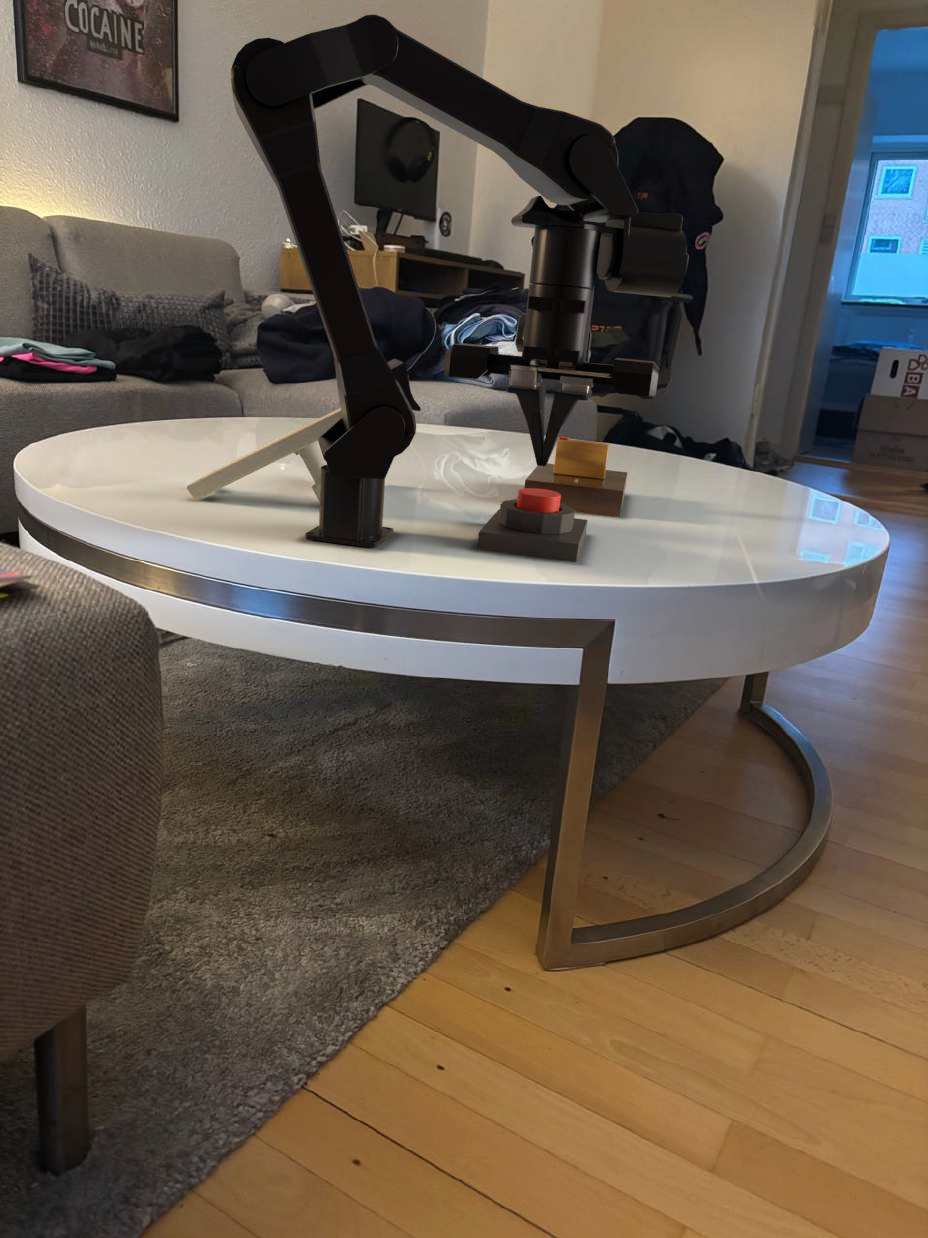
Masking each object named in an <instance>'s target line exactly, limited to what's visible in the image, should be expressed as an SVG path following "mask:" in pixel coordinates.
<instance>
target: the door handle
mask: <svg viewBox="0 0 928 1238" xmlns="http://www.w3.org/2000/svg"><path fill="white" fill-rule="evenodd" d="M341 417H342V413H341V407H339V408H337V409H336V410H333V411H332V412H330V413H327V414H324V415H323V416H321V417H319V418H317V419H315V420H314V421H311V422H309V423H306V424H305V425H304V426H301V427H299V428H297V429H295V430H293V431H291V432H288V433H287V434H285V435H283V436H281V437H279V438H277V439H275V440H273V441H271V442H269V443H267V444H265V445H263V446H260V447H258V448H257V449H255V450H252V451H251V452H248V453H247V454H245V455H242V456H240V457H239V458H236V459H234V460H232V461H230V462H229V463H226V464H224V465H222V466H220V467H218V468H216V469H214V470H211V471H210V472H208V473H206V474H205V475H203V476H201V477H199V478H198V479H196V480H194V481H193V482H191V483H189V484H187V485H186V490H187V491H188V493H189V494H190V495H191V497H192V498H193V499H194V500H199V499H202V498H204V497H205V496H208V495H210V494H212V493H214V492H216V491H218V490H220V489H223V488H224V487H226V486H228V485H230V484H232V483H234V482H237V481H239V480H241V479H243V478H245V477H247V476H249V475H251V474H253V473H255V472H258V471H259V470H261V469H263V468H265V467H267V466H270V465H271V464H274V463H276V462H277V461H280V460H281V459H284V458H286V457H288V456H289V455H292V454H295V456H298V455H299V456H300V458H301V459H302V460H303V462H304V465H305V467H306V468H307V470H308V472H309V474H310V475H311V478H312V479H313V481H314V484H313V485H312V486H311V489H312V491H313V493H314V495H315V496H316V499H317V500H318V502H319V503H320V479H321V467H322V466H324V465H327V463H326V461H325V460H324V458H323V455H322V452H321V449H320V446H319V443H318V439H319V437H320V436H321V435H322V434H323V433H325V432H326V431H327V430H328V429H329V428H330V427H331V426H332V425H334V424H335V423H336V422H337V421H338V420H339V419H340V418H341Z"/></svg>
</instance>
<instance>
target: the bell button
mask: <svg viewBox="0 0 928 1238" xmlns="http://www.w3.org/2000/svg"><path fill="white" fill-rule="evenodd" d="M560 498H561V494H560V493H558V492H555V491H551V490H545V489H536V488H525V489H524V488H521V489H518V491H517V498H516V499H517V508H520V509H524V510H528V511H537V512H558V511H559V506H560Z"/></svg>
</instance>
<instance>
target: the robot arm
mask: <svg viewBox="0 0 928 1238" xmlns="http://www.w3.org/2000/svg"><path fill="white" fill-rule="evenodd" d="M230 83H231V84H230V85H231V93H232V100H233V105H234V109H235V112H236V115H237V116H238V118H239V121H240V122H241V124H242V125H243V128H244V129H245V132H246V134H247V135H248V137H249V139H250V141H251V143H252V145H253V147H254V149H255V150H256V152H257V155H258V156H259V158H260V159H261V161H262V163H263V165H264V166H265V168H266V170H267V172H268V173H269V175H270V177H271V179H272V181H273V183H274V184H275V186H276V188H277V191H278V194H279V197H280V200H281V202H282V205H283V209H284V212H285V215H286V217H287V221H288V223H289V226H290V229H291V233H292V235H293V238H294V241H295V244H296V248H297V250H298V253H299V256H300V259H301V263H302V264H303V265H302V266H303V268H304V271H305V274H306V277H307V279H308V283H309V285H310V289H311V292H312V295H313V298H314V301H315V303H316V306H317V309H318V312H319V316H320V318H321V322H322V324H323V326H324V330H325V334H326V336H327V339H328V342H329V345H330V348H331V352H332V356H333V361H334V362H333V363H334V371H335V378H336V387H337V388H336V389H337V394H338V400H339V408H341V413H342V417H341V418H340V419H339V420H338V421H337V422H336V423H335V424H334V425H332V426H331V427H330V428H329V429H328V430H327V431H326V432H325V433H323V434H322V435H321V436H320V437H319V439H318V443H319V446H320V449H321V452H322V455H323V458H324V460H325V461H326V463H327V465H324V466H322V467H321V479H320V502H319V511H318V512H319V514H318V525H317V526H315V527H314V528H312V529H310V530H309V531H307V532H305V535H304V538H305V539H306V540H311V541H318V542H325V543H331V544H332V543H333V544H341V545H348V546H349V545H350V546H354V547H355V546H356V547H363V548H376V547H378V546H379V545H381V544H382V543H383V542H385V541H386V540H387V539H389V538H390V537H391V536H393V534H394V528H393V527H388V526H383V523H384V521H383V520H384V505H385V504H384V503H385V486H386V477H387V475H388V473H389V471H390V469H391V466H392V463H393V461H394V459H395V457H397V456H399V455H401V454H403V453H404V452H405V451H406V450H407V449H408V448H409V447H410V445H411V443H412V441H413V439H414V437H415V435H416V433H417V421H416V415H415V413H414V411H415V412H420V411H421V410H422V408H421V406H420V404H418V402H417V401H416V400H415V398H414V396H413V393H412V390H411V385H410V376H409V371H408V366H407V363H405V362H403V361H401V360H399V359H397V358H393V359H391V360H389V361H387V359H386V358H385V356H384V355H383V352H382V350H381V349H380V347H379V346H378V343H377V340H376V337H375V335H374V331H373V329H372V325H371V322H370V319H369V316H368V312H367V309H366V307H365V303H364V300H363V296H362V293H361V290H360V287H359V284H358V281H357V276H356V275H355V272H354V268H353V265H352V262H351V259H350V255H349V252H348V249H347V246H346V242H345V239H344V236H343V233H342V230H341V227H340V224H339V222H338V221H339V220H338V218H337V215H336V212H335V208H334V205H333V202H332V199H331V196H330V193H329V189H328V187H327V184H326V180H325V177H324V174H323V170H322V163H321V155H320V146H319V138H318V129H317V127H318V126H317V120H316V113H315V110H317V109H319V108H321V107H324V106H326V105H328V104H330V103H332V102H335V101H336V100H338V99H340V98H343V97H345V96H346V95H348V94H351V93H353V92H354V91H356V90H360V89H362V88H364V87H366V86H373V87H375V88H377V89H380V90H381V91H383V92H384V93H386V94H388V95H390V96H391V97H394V98H396V99H397V100H399V101H401V102H403V103H404V104H406V105H407V106H410V107H412V108H413V109H415V110H417V111H418V112H421V113H423V114H424V115H427V116H428V117H430V118H432V119H433V120H435V121H437V122H438V123H441V124H443V125H444V126H446V127H448V128H450V129H452V130H453V131H455V132H458V133H459V134H461V135H463V136H464V137H467V138H468V139H470V140H472V141H473V142H475V143H477V144H479V145H481V146H483V147H484V148H486V149H488V150H490V151H492V152H493V153H494V154H496V155H497V156H498V157H499V158H501V159H502V160H503V161H504V162H505V163H506V164H507V165H508V166H509V167H510V168H511V169H512V170H513V172H515V174H516V175H517V176H518V177H519V179H521V180H522V181H523V182H525V183H526V184H527V185H528V186H530V187H531V189H533V190H534V191H536V192H537V193H538V194H539V195H536V196H534V197H531V198H530V200H529V201H528V203H527V205H526V206H525V207H523V209H522V210H521V211H520V212H518V213H517V214H516V215H514V216H512V218H511V220H510V221H511V225H512V226H513V227H520V228H527V229H534V233H533V244H532V253H531V262H530V272H529V284H528V293H527V302H526V311H525V314H524V313H521V314H520V315H519V318H518V322H517V326H516V333H515V342H514V343H515V344H514V345H515V347H516V351H517V352H518V353H521V355H513V354H503V353H500V352H499V351H500V350H499V346H496V345H484V344H475V343H474V344H472V343H465V342H464V343H463V342H462V343H453V344H452V345H451V346H450V347H449V348H447V350H446V353H445V357H444V368H443V369H444V371H443V376H445V377H446V376H447V377H449V378H451V377H452V378H461V379H469V380H470V379H471V380H472V379H473V380H479V379H480V378H481V377H482V376H483V377H489V376H490V375H492V374H493V375H494V374H495V375H501V376H502V375H504V376H508V380H509V382H508V385H507V386H506V389H505V392H506V393H508V394H515V395H516V397H517V399H518V402H519V405H520V408H521V411H522V413H523V416H524V418H525V421H526V425H527V428H528V433H529V437H530V441H531V447H532V450H533V454H534V458H535V462H536V463H535V464H536V467H537V466H546V465H547V463H548V464H549V461H550V458H551V456H552V453H553V451H554V449H555V448H556V445H557V440H558V438H559V437H560V436H561V433H562V431H563V428H564V426H565V424H566V422H567V420H568V419H569V416H570V415H571V413H572V412H573V410H574V408H575V406H576V405H577V403H578V402H579V401H589V400H590V399H591V397H592V396H593V391H592V388H593V387H594V385H604V386H605V385H606V386H612V387H613V388H614V389H615V391H616V392H617V393H618V394H620V395H631V396H639V397H640V396H641V397H651V398H652V397H654V398H656V396H657V395H656V394H657V387H658V381H659V375H660V373H659V372H660V367H659V366H658V365H657V363H656V362H655V361H653V360H651V361H650V360H645V359H643V360H642V359H631V358H622V357H616V358H614V360H613V364H608V363H607V364H606V363H596V362H589V361H590V353H591V352H590V351H591V344H592V336H593V335H592V330H591V321H592V312H593V303H594V296H595V288H596V287H595V286H596V279H597V276H598V279H599V280H602V281H604V285H605V287H606V289H607V290H608V291H609V292H612V293H622V294H633V295H641V296H642V295H643V296H652V297H663V298H671V297H673V296H675V295H676V294H677V293H678V291H680V288H681V287H682V284H683V282H684V280H685V276H686V274H687V271H688V270H687V269H688V264H689V259H690V258H689V257H690V255H689V253H688V246H687V245H688V244H687V238H686V235H685V233H684V231H683V230H682V228H683V227H682V226H683V221H684V220H683V219H684V217H683V215H682V214H680V213H673V212H667V213H661V214H659V213H651V212H644V211H639V208H638V205H637V204H636V202H635V199H634V197H633V195H632V193H631V191H630V189H629V186H628V184H627V183H626V180H625V178H624V176H623V174H622V172H621V170H620V167H619V152H618V148H617V144H616V138H615V137H614V135H613V134H612V132H611V131H609V129H607V128H606V127H605V126H604V125H603V124H600V123H599V122H596V121H593V120H590V119H587V118H585V117H582V116H579V115H576V114H573V113H570V112H566V111H563V110H560V109H559V110H558V109H554V108H548V107H544V106H538V105H534V104H531V103H529V102H526V101H523V100H521V99H520V98H517V97H516V96H513V95H512V94H511V93H509V92H507V91H505V90H503V89H502V88H500V87H499V86H496V85H495V84H494V83H491V82H490V81H488V80H486V79H484V78H482V77H481V76H479V75H477V74H476V73H474V72H473V71H470V70H469V69H467V68H466V67H463V66H462V65H460V64H459V63H457V62H455V61H453V60H451V59H450V58H448V57H447V56H445V55H443V54H441V53H440V52H438V51H436V50H434V49H432V48H431V47H429V46H428V45H425V44H424V43H422V42H420V41H419V40H417V39H415V38H414V37H411V36H410V35H408V34H406V33H404V32H403V31H401V30H399V29H398V28H396V27H395V26H394V24H392V22H391V21H390V20H389V19H387V18H386V17H384V16H381V15H378V14H365V15H363V16H361V17H359V18H357V20H354V21H351V22H350V23H347V24H344V25H339V26H336V27H331V28H327V29H321V30H317V31H314V32H313V31H312V32H309V33H307V34H304V35H301V36H299V37H296V38H294V39H292V40H289V41H286V42H284V41H282V40H280V39H275V38H272V37H261V38H256V39H253V40H251V41H249V42H247V43H245V44H244V45H243V46H242V47H241V49H240V50H239V51H238V52H237V53H236V56H235V57H234V61H233V62H232V65H231V69H230ZM544 199H546V200H547V201H549V202H550V203H552V204H555V205H558V206H567V207H568V208H569V209H566V208H557V207H550V206H549V205H548V203H546V201H545V200H544ZM586 222H590V223H586ZM591 222H592V223H599V224H602V223H605V226H604V225H598V224H592V223H591ZM533 361H534V364H532V362H533ZM544 380H553V381H559V382H558V383H559V385H561V387H560V388H559V389H558V390H556V391H554V394H553V400H552V405H551V409H550V413H549V418H548V422H547V427H546V431H545V403H546V402H545V401H546V389H547V386H546V385H541V383H542V382H543V381H544Z"/></svg>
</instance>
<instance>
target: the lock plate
mask: <svg viewBox="0 0 928 1238" xmlns="http://www.w3.org/2000/svg"><path fill="white" fill-rule="evenodd" d="M553 472H554V463H549V462H548V463H547V465H546V466H537V465H536V467H534V469H533V471H531V473H530V474H529V475H528V476H527V477H526V478H525V480H524V488H523V489H525V488H536V489H545V490H551V491H555V492H558V493H560V494H561V498H560V504H564V505H567V506H569V507H571V508H573V509H575V513H582V514H590V515H599V516H605V517H606V516H607V517H614V518H621V514H622V509H623V505H624V500H625V494H626V487H627V481H628V480H627V479H628V471H619V470H610V469H606V473H605V478H604V479H597V478H589V477H580V476H572V475H563V474H554V473H553Z"/></svg>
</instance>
